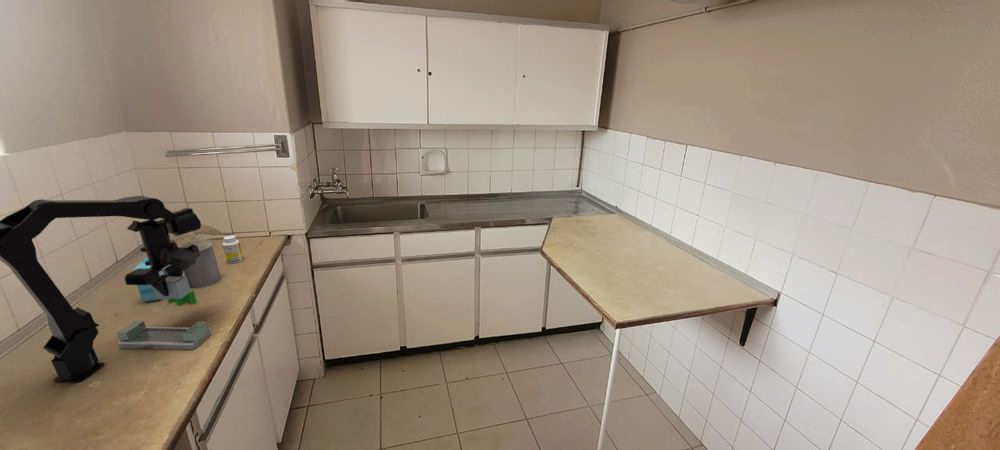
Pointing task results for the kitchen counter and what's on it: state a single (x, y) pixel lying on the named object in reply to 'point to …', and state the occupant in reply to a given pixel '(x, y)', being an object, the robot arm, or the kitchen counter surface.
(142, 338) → the rail
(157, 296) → the block
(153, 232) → the robot arm
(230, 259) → the supplement bottle
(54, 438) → the kitchen counter surface
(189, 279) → the pillar candle
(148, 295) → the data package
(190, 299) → the pipe clamp
